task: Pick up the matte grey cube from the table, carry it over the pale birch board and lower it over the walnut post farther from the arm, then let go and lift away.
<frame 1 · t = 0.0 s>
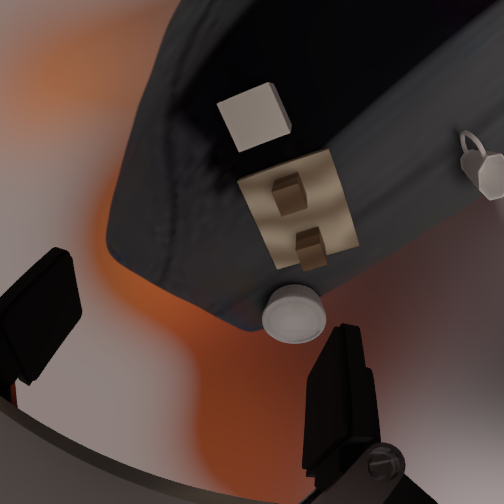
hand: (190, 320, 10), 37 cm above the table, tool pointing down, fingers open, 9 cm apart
matte grey cube: (261, 112, 40), on the table
cup: (466, 154, 37), on the table
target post: (310, 239, 47), resting on post board
ramekin: (295, 302, 56), on the table
post board: (301, 210, 47), on the table
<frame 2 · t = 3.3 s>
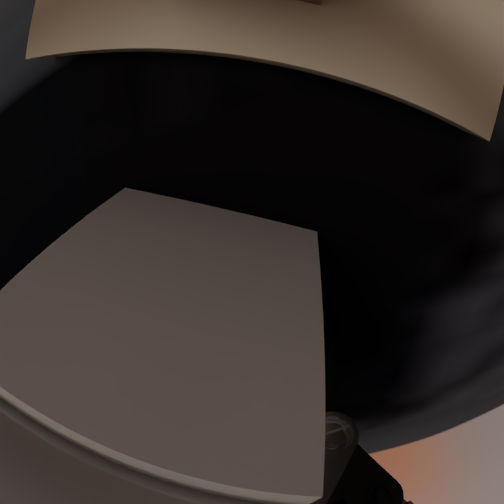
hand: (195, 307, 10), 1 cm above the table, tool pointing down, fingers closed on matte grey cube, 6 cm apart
matte grey cube: (204, 287, 11), on the table, touching gripper
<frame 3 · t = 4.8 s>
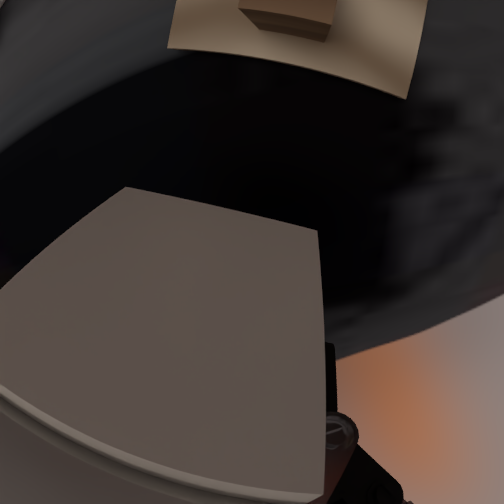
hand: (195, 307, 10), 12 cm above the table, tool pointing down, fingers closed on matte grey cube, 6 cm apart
matte grey cube: (204, 286, 11), point 10 cm above the table, touching gripper
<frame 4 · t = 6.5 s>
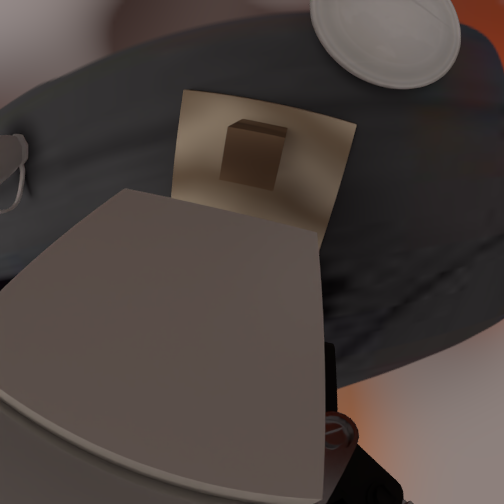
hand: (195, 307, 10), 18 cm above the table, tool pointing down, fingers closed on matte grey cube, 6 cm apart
matte grey cube: (204, 288, 11), point 17 cm above the table, touching gripper
cup: (22, 160, 29), on the table
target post: (260, 144, 24), resting on post board
ramekin: (374, 27, 19), on the table
post board: (252, 189, 27), on the table
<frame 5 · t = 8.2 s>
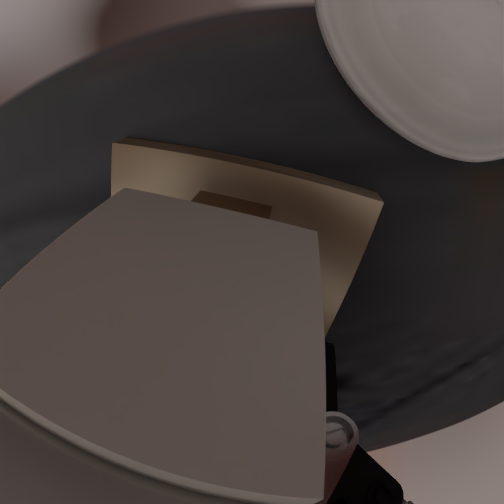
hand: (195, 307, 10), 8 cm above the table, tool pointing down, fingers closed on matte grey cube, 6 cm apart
matte grey cube: (204, 287, 11), point 7 cm above the table, touching gripper
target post: (230, 230, 16), resting on post board
ramekin: (417, 36, 11), on the table
post board: (224, 282, 19), on the table
when the fingers open (4 cm above the table, at t = 9.9 s): matte grey cube stays where it is, resting on post board.
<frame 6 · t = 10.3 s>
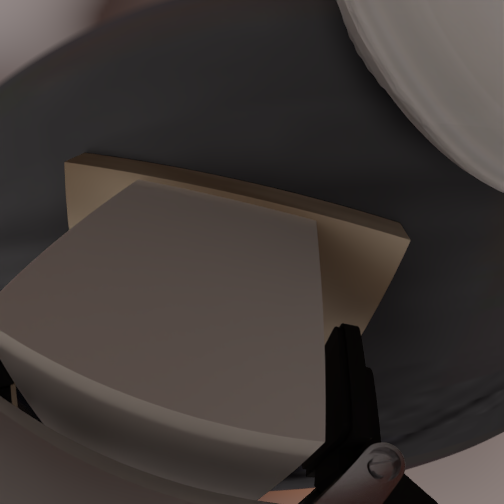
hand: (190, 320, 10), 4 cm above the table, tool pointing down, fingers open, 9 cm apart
matte grey cube: (210, 273, 12), point 1 cm above the table, touching post board
ramekin: (453, 23, 7), on the table
post board: (208, 324, 16), on the table
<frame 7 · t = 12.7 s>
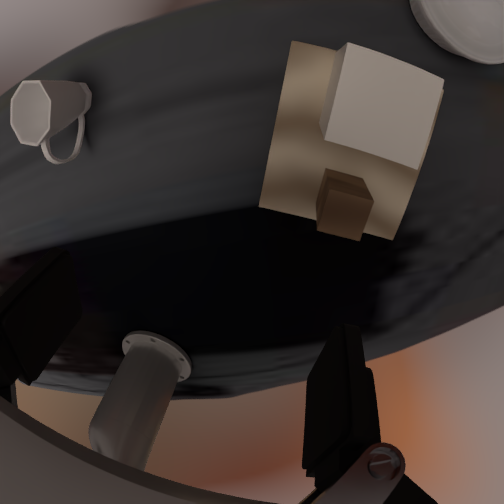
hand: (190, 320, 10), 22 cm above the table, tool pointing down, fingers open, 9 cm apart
matte grey cube: (364, 98, 22), point 1 cm above the table, touching post board
cup: (81, 110, 28), on the table
ramekin: (450, 11, 17), on the table
post board: (349, 142, 26), on the table
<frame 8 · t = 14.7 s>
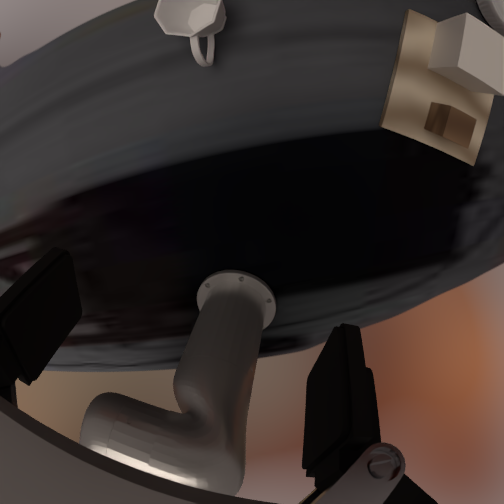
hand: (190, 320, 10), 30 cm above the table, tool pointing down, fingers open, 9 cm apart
matte grey cube: (455, 56, 24), point 1 cm above the table, touching post board
cup: (210, 31, 29), on the table
ramekin: (499, 9, 19), on the table
post board: (443, 87, 28), on the table
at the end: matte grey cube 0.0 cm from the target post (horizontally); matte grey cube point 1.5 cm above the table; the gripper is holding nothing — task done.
